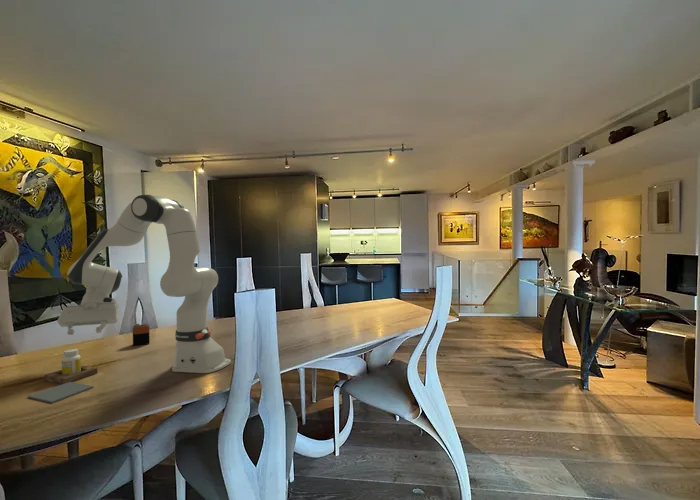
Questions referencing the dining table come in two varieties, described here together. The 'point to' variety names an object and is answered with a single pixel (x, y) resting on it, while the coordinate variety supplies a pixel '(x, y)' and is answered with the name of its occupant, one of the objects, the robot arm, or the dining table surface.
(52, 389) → the charcoal mat
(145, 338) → the battery
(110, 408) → the dining table surface
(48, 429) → the dining table surface
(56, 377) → the walnut holder
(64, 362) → the supplement bottle
